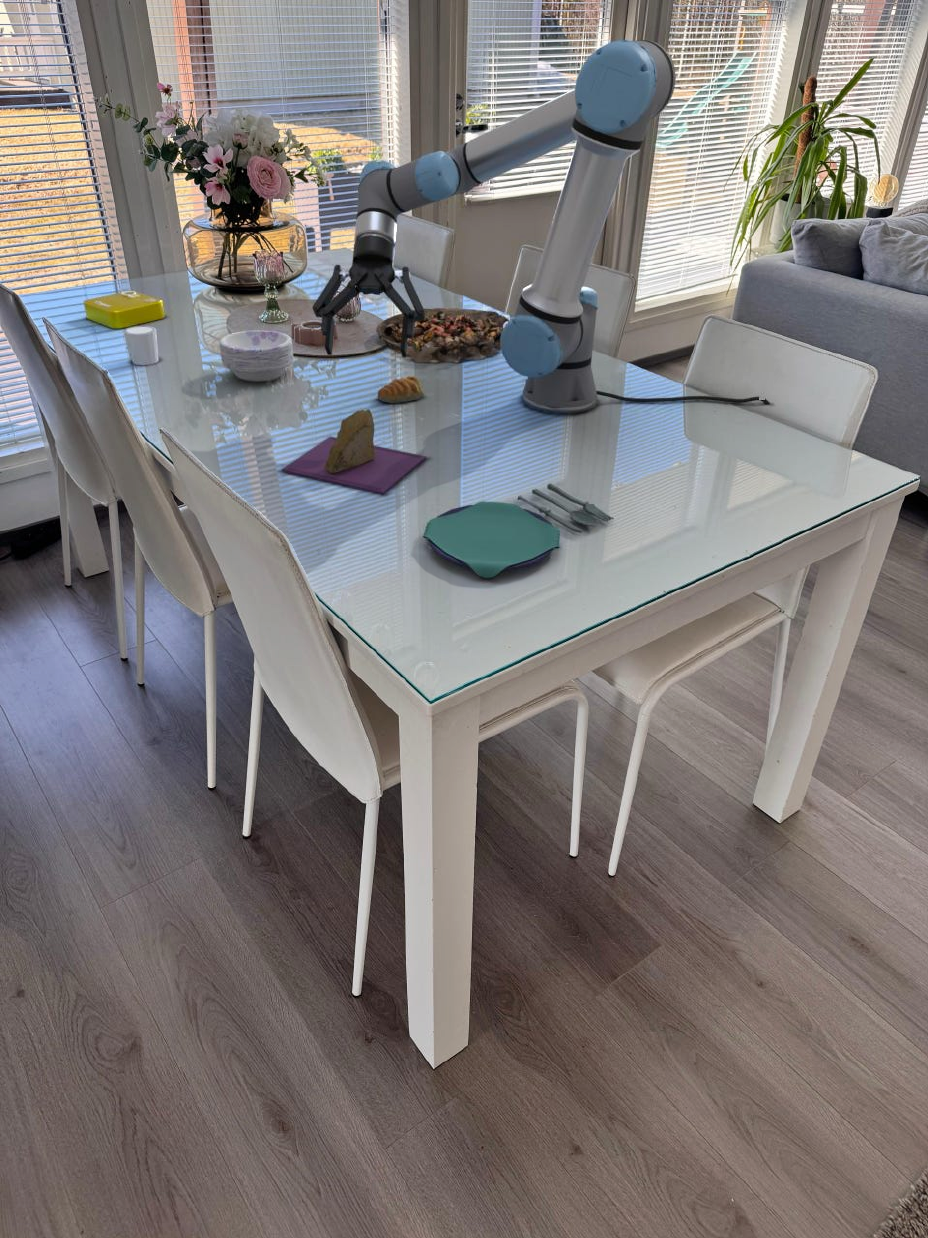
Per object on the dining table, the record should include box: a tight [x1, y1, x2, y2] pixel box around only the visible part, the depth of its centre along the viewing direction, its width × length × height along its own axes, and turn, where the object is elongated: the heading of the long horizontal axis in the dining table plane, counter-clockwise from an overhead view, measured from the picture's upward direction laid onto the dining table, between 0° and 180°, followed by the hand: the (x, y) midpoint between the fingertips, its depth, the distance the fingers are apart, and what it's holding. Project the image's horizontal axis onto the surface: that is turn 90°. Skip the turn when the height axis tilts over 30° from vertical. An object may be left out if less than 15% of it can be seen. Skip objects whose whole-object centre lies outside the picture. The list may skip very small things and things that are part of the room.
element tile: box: [82, 290, 166, 330], centre depth 226 cm, size 15×15×5 cm
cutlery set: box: [422, 482, 615, 579], centre depth 137 cm, size 20×30×2 cm, turn 128°
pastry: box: [377, 376, 424, 404], centre depth 183 cm, size 9×7×4 cm
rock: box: [325, 409, 375, 473], centre depth 155 cm, size 11×9×10 cm
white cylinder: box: [123, 325, 159, 366], centre depth 199 cm, size 7×7×7 cm
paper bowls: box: [219, 329, 294, 383], centre depth 192 cm, size 15×15×8 cm
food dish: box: [375, 307, 510, 364], centre depth 215 cm, size 35×33×8 cm
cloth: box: [281, 436, 427, 495], centre depth 157 cm, size 20×16×1 cm
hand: (365, 352), depth 160 cm, fingers open, 13 cm apart
